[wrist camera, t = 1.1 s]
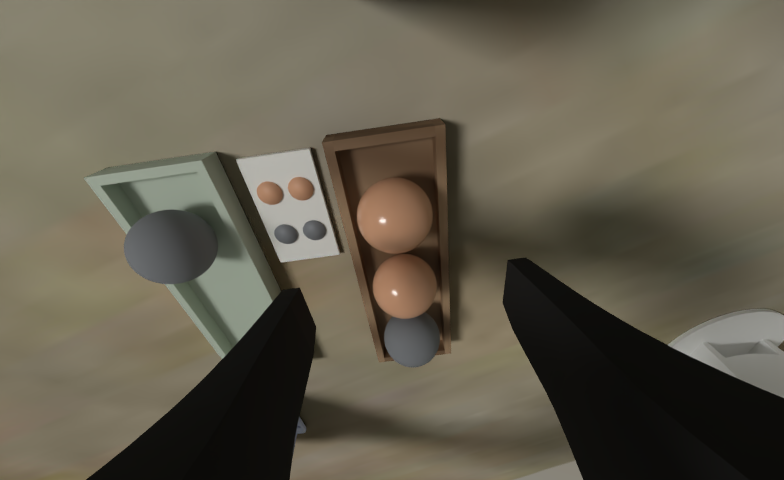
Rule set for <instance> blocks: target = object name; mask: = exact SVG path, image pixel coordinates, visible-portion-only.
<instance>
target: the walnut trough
mask: <svg viewBox="0 0 784 480" xmlns="http://www.w3.org/2000/svg"><path fill="white" fill-rule="evenodd" d="M322 145H323V148H324V152H325V156H326V160H327V164H328V168H329V172H330V175H331V179H332V183H333V187H334V191H335V195H336V198H337V202H338V206H339V210H340V214H341V218H342V222H343V225H344V229H345V233H346V237H347V241H348V245H349V249H350V252H351V256H352V260H353V264H354V268H355V272H356V275H357V279H358V283H359V287H360V291H361V295H362V299H363V302H364V306H365V310H366V314H367V318H368V322H369V326H370V329H371V333H372V337H373V341H374V345H375V349H376V352H377V356H378V360H379V362H386V361H394V359H393V358H392V357H391V356H390V355H389V353H388V351H387V349H386V346H385V341H384V333H385V328H386V326H387V323H388V322H389V320H390V319H391V318H392V317H393V316H391V315H389V314H387V313H386V312H385V311H383V310H382V309H381V307H380V306H379V305H378V303H377V301H376V299H375V297H374V294H373V279H374V275H375V273H376V271H377V269H378V267H379V266H380V265H381V264H382V263H383V262H384V261H385V260H386V259H388V258H390V257H392V256H394V255H398V254H391V253H385V252H382V251H379V250H377V249H376V248H374V247H373V246H371V245H370V244H369V243H368V242H367V241H366V240H365V239H364V237H363V236H362V234H361V232H360V230H359V227H358V223H357V208H358V204H359V201H360V199H361V197H362V196H363V194H364V192H365V191H366V190H367V189H368V188H369V187H370V186H371V185H373V184H374V183H376V182H378V181H380V180H382V179H385V178H391V177H399V178H404V179H408V180H410V181H412V182H414V183H416V184H417V185H418V186H420V187H421V188H422V189H423V190H424V191H425V193H426V194H427V196H428V197H429V200H430V202H431V205H432V209H433V221H432V226H431V229H430V231H429V234H428V235H427V237H426V238H425V240H424V241H423V242H422V243H421V244H420V245H419V246H417V247H416V248H414V249H412V250H410V251H408V252H405V253H399V254H411V255H415V256H418V257H420V258H421V259H423V260H424V261H425V262H427V263H428V264H429V266H430V267H431V268H432V270H433V272H434V274H435V277H436V281H437V292H436V297H435V299H434V301H433V303H432V305H431V306H430V307H429V309H428V310H427V311H425V312H426V313H427V314H429V315H430V316H431V317H432V318H433V320H434V321H435V322H436V324H437V326H438V329H439V333H440V344H439V348H438V351H437V353H436V354H435V355H441V354H449V353H451V331H450V291H449V250H448V209H447V169H446V128H445V123H444V122H443V121H442V120H441V119H440V118H438V119H432V120H425V121H418V122H411V123H405V124H398V125H391V126H385V127H378V128H371V129H364V130H358V131H351V132H344V133H337V134H331V135H326V137H325V138H324V140H323V142H322Z"/></svg>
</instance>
